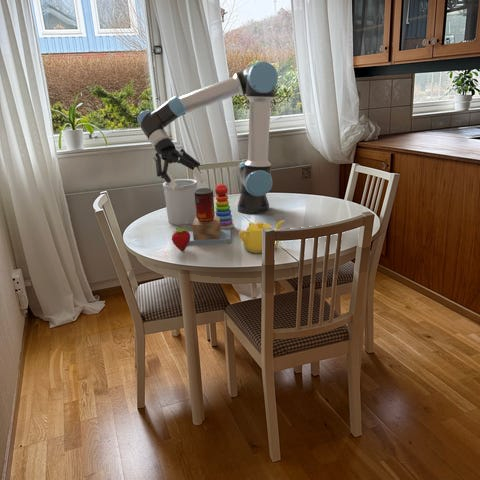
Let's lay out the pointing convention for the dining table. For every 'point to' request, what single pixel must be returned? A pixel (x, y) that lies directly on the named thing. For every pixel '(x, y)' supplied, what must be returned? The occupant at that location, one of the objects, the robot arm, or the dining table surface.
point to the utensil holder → (181, 201)
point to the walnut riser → (207, 229)
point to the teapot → (255, 236)
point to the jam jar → (204, 205)
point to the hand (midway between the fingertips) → (189, 185)
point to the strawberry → (181, 238)
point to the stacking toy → (223, 207)
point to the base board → (224, 238)
